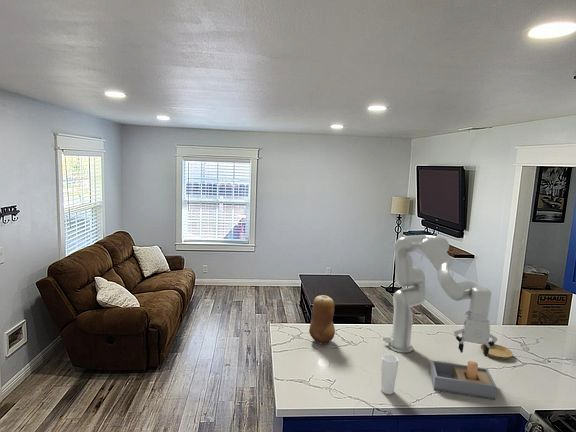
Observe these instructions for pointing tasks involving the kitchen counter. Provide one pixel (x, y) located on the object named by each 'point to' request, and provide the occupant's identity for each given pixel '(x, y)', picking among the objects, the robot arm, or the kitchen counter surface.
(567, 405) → the kitchen counter surface
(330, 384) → the kitchen counter surface
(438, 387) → the box
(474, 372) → the peg
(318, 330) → the butternut squash
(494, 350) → the plant saucer
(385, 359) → the drinking glass
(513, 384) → the kitchen counter surface
